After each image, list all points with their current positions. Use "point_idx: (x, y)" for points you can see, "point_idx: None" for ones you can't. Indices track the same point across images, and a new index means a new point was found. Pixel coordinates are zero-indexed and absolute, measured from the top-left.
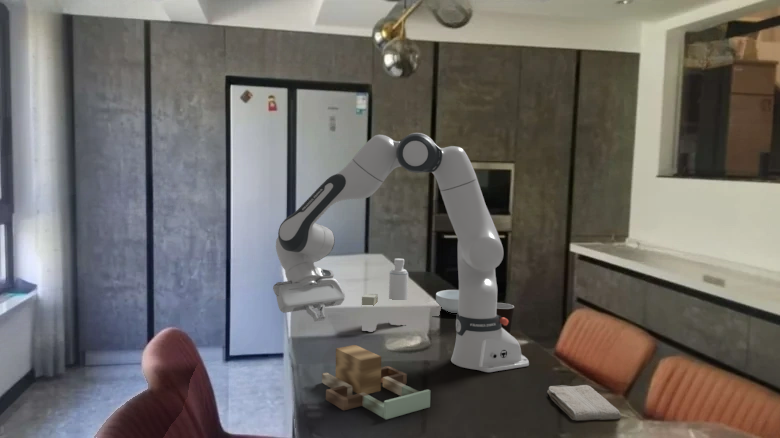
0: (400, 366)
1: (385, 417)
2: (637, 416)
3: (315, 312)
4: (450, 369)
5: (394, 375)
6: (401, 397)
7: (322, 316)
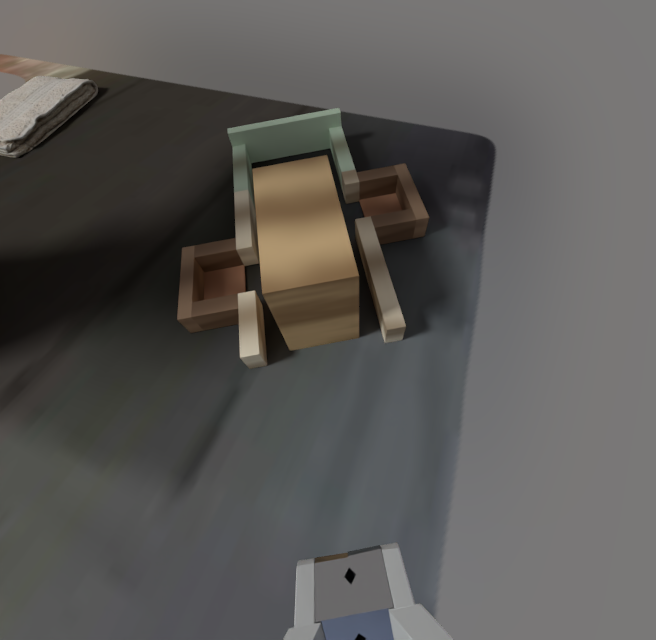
0: (106, 388)
1: None
2: None
3: (405, 615)
4: (21, 312)
5: (216, 249)
6: (300, 117)
7: (329, 564)
